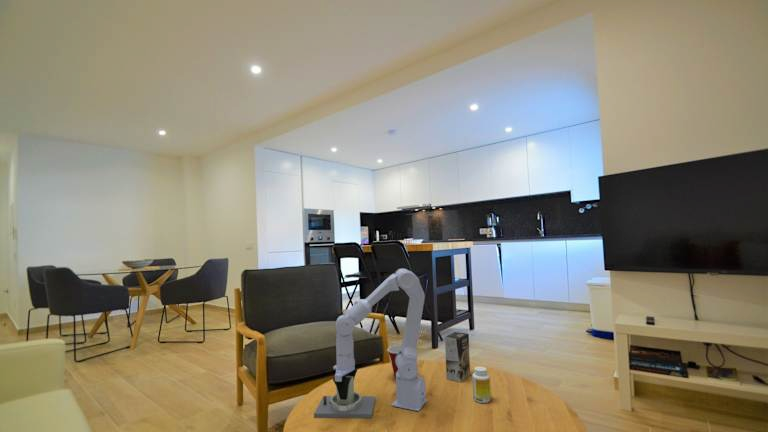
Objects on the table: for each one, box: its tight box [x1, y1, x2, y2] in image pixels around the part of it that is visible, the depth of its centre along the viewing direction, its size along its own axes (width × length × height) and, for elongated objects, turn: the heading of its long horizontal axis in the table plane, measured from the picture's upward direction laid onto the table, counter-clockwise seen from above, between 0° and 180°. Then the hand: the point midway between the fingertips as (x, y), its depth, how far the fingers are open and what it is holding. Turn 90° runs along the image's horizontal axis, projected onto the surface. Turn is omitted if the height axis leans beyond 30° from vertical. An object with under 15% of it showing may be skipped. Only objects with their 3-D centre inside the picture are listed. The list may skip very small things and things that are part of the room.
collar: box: [322, 391, 363, 412], centre depth 113 cm, size 13×10×2 cm
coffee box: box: [444, 331, 471, 383], centre depth 136 cm, size 9×6×16 cm
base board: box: [313, 395, 377, 419], centre depth 113 cm, size 18×12×1 cm, turn 86°
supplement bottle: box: [471, 366, 491, 404], centre depth 117 cm, size 6×6×10 cm
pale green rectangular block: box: [335, 376, 355, 405], centre depth 113 cm, size 4×5×8 cm
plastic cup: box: [386, 343, 402, 380], centre depth 136 cm, size 11×11×12 cm
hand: (345, 395), depth 113 cm, fingers closed on pale green rectangular block, 4 cm apart
